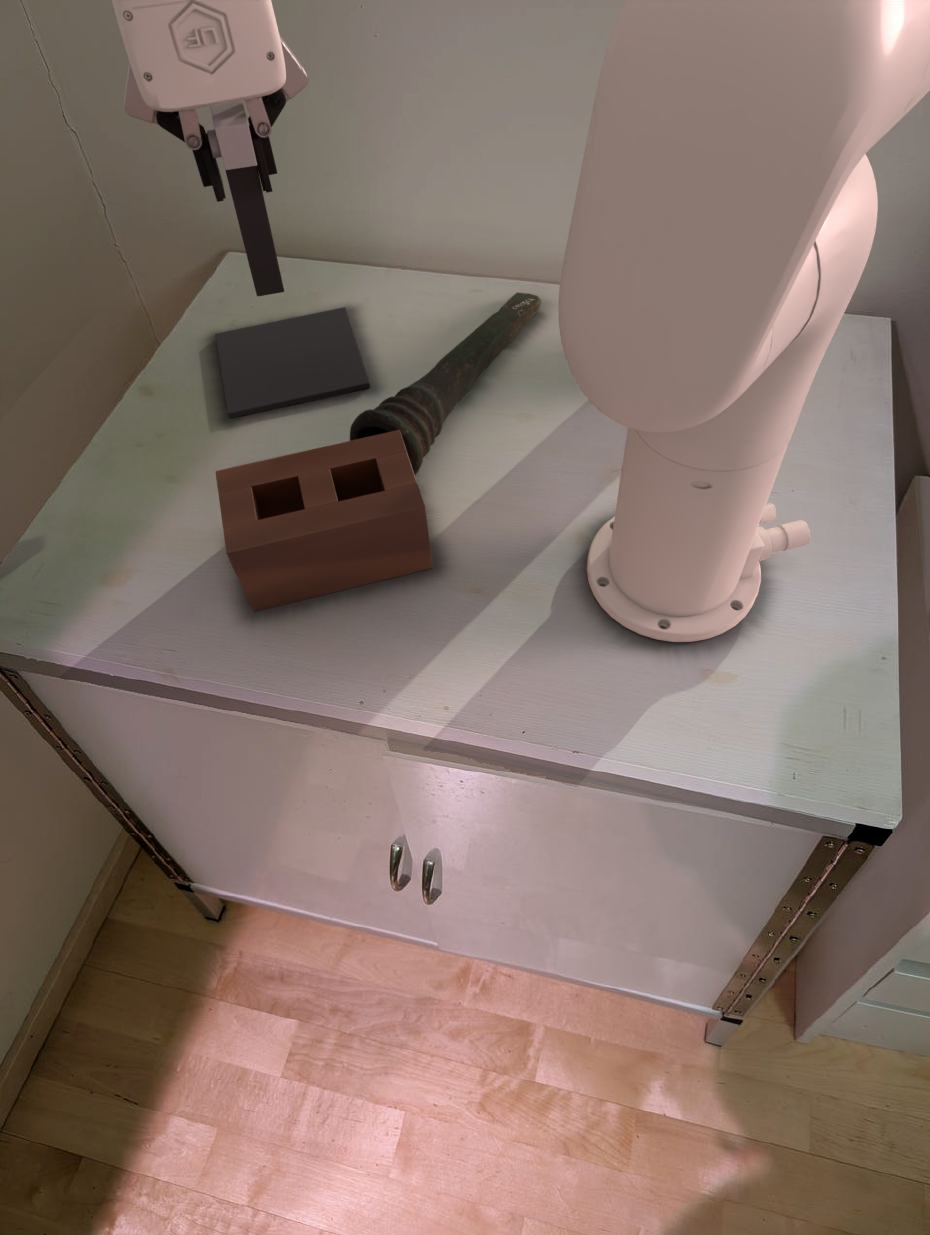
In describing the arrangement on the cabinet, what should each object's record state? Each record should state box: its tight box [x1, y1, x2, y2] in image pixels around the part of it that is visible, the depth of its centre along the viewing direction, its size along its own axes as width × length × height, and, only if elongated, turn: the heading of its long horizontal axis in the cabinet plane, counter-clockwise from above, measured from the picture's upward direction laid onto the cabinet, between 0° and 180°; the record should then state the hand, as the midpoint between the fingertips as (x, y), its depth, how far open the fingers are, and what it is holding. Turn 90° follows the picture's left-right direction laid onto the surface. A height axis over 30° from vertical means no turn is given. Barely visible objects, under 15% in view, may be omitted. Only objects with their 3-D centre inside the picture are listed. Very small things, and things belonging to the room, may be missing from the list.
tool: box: [349, 292, 542, 476], centre depth 73 cm, size 28×6×7 cm, turn 147°
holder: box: [215, 430, 434, 613], centre depth 63 cm, size 8×14×7 cm, turn 105°
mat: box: [214, 306, 371, 419], centre depth 79 cm, size 13×12×1 cm
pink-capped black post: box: [206, 100, 285, 297], centre depth 67 cm, size 3×4×14 cm
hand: (242, 186), depth 65 cm, fingers closed on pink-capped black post, 3 cm apart
